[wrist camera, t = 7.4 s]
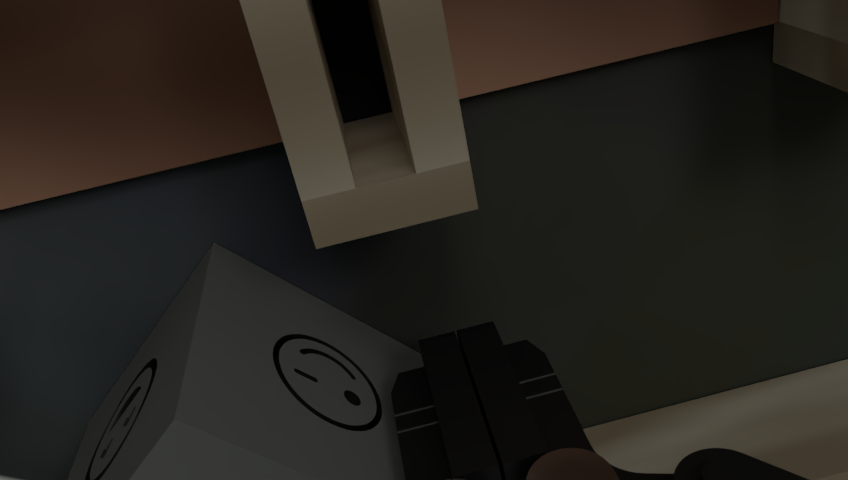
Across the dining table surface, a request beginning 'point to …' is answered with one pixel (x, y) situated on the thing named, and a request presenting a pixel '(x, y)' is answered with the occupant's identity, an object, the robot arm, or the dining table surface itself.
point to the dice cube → (250, 389)
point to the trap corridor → (386, 137)
